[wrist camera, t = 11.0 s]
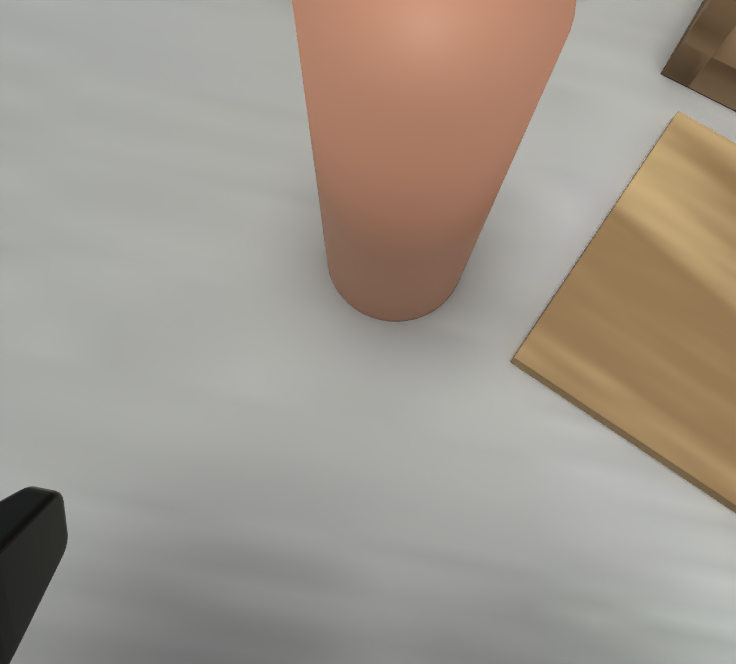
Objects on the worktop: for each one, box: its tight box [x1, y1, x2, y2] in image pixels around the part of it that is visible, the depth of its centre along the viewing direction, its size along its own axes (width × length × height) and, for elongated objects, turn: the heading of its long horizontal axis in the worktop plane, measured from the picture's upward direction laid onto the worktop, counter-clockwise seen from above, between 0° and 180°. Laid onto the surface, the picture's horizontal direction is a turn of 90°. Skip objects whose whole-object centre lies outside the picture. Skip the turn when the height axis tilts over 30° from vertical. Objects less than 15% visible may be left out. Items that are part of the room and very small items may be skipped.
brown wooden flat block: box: [510, 111, 736, 513], centre depth 24 cm, size 4×10×12 cm
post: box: [292, 0, 576, 321], centre depth 18 cm, size 5×5×13 cm
